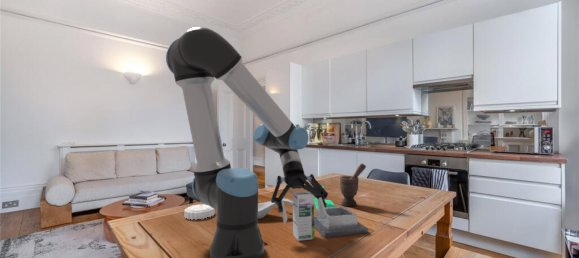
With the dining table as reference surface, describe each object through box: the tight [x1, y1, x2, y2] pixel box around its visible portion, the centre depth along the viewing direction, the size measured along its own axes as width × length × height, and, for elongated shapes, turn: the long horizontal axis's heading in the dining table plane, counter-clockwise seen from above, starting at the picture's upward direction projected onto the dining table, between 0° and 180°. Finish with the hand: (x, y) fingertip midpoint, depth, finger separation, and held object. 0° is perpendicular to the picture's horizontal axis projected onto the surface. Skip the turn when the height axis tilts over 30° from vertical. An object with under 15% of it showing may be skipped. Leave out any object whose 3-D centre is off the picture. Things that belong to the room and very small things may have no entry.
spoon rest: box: [258, 197, 293, 220], centre depth 105 cm, size 24×12×7 cm, turn 92°
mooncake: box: [183, 203, 216, 221], centre depth 107 cm, size 12×12×4 cm
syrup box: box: [292, 190, 315, 242], centre depth 84 cm, size 6×6×14 cm
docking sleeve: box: [314, 205, 369, 239], centre depth 93 cm, size 16×16×6 cm
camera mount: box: [314, 185, 337, 210], centre depth 115 cm, size 12×8×10 cm, turn 4°
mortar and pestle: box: [339, 163, 367, 207], centre depth 122 cm, size 12×9×20 cm
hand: (305, 219), depth 82 cm, fingers open, 13 cm apart
